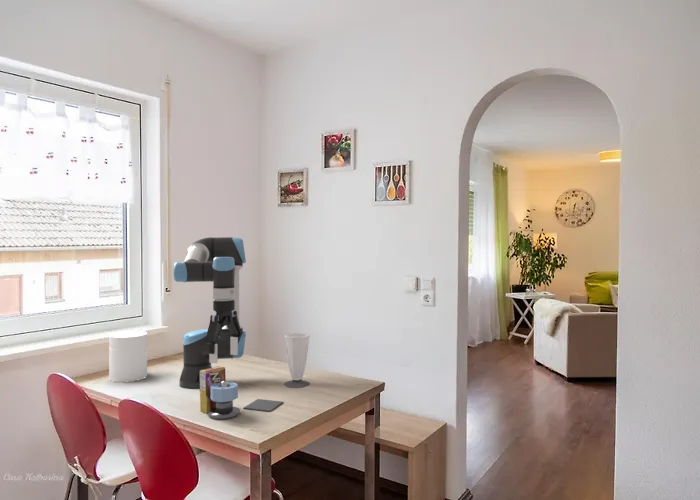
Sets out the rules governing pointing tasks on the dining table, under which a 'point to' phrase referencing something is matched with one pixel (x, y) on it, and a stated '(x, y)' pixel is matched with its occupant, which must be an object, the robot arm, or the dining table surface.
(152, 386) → the dining table surface
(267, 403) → the mat
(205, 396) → the candy box
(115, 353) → the canister
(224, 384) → the stand
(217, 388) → the ring
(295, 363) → the cup
